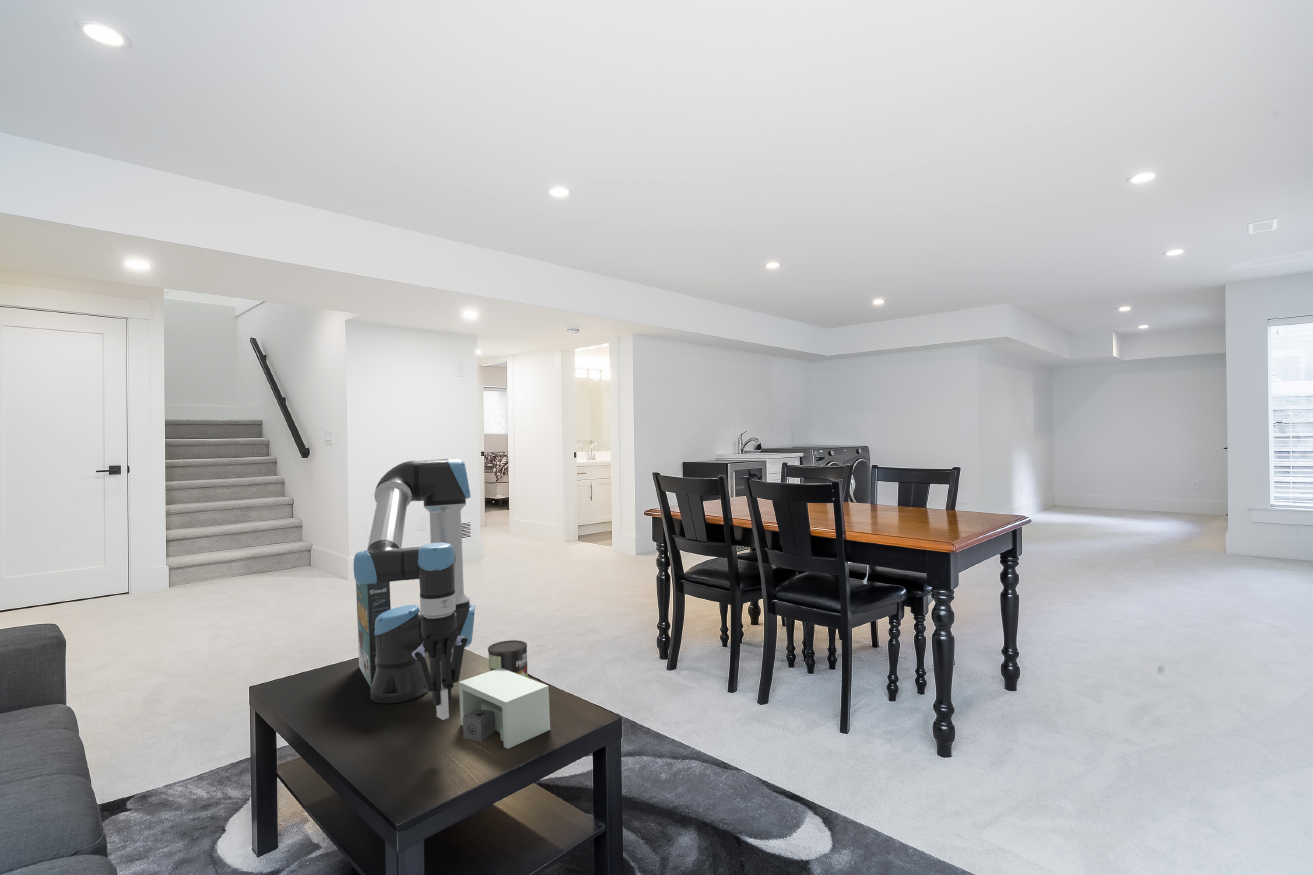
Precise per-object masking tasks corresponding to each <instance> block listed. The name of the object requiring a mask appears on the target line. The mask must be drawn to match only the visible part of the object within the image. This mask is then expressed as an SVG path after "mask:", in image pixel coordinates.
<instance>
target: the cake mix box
mask: <svg viewBox="0 0 1313 875" xmlns="http://www.w3.org/2000/svg"><path fill="white" fill-rule="evenodd" d="M390 584H391V582H383V583H376V584H373V583H366V584H359V583H357V582H356V581H355V587H356V588H355V592H356V593H355V594H356V595H355V596H356V618H357V638H358V639H357V642H358V665H359V666H358V668H359V670H360V671H361V672H362V675H363V676H364V678H365V680H366V682H367V684H368V685H369V687H370V688H371V686H372V682H373V679H374V675H375V672H376V645H375V635H374V632H375V620H376V618H377V617H378V616H379V615H380V614H382V613H383V612H385V611H388V610H391V609H392V607H391V585H390Z"/></svg>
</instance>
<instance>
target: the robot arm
mask: <svg viewBox="0 0 1313 875" xmlns="http://www.w3.org/2000/svg"><path fill="white" fill-rule="evenodd" d="M466 468H467V467H466V464H465V461H463V460H462V459H459V458H458V459H455V458H442V459H428V460H408V461H404V462H401V463H399V464H397V465H395V466H394V467H392V468H391V469H389V470H388V471H387V472H386V473H385V474H384V475H383V476H382V477H381V478H380V479H379V481H378V482H377V485H376V486H375V490H374V495H373V496H374V500H375V503H376V505H375V509H374V510H375V511H374V515H373V519H372V520H373V521H372V525H371V529H370V533H369V534H370V535H369V540H368V544H367V549H365V550H363V551H358V552H356V553H355V555H354V558H353V577H354V581H355V583H356V582H357V583H359V584H366V583H373V584H376V583H383V582H390V583H391V582H399V581H412V580H413V581H414V580H419V582H418V583H419V604H420V606H418V605H417V604H412V605H411V604H409V605H408V604H407V605H402V606H397V607H395V608H391V610H388V611H385V612H383V613H382V614H380V615H379V616H378V617H377V618H376V620H375V632H374V635H375V645H376V672H375V675H374V679H373V682H372V686H371V687H370V701H373V702H374V703H376V704H377V703H378V704H398V703H403V702H407V701H411V700H414V699H416V698H419V697H421V696H423V695H424V694H426V693H427V692H431V693H432V695H431V696H432V704H433V705H434V706H435V709H436V718H439V719H440V720H442V721H444V720H447V719H449V718H450V712H449V710H450V709H449V708H450V707H449V702H451V700H452V689H453V688H454V684H455V683H459V682H460V675H461V669H462V664H463V657H464V651H465V648H468V647H470V645H471V644H472V642H473V641H472V640H473V636H474V633H473V632H474V626H475V625H474V624H475V623H474V622H475V614H476V613H475V612H476V611H475V610H476V606H475V605H473V604H471V603H470V601H471V600H470V598H469V597H468V596H467V595H466V594H465V591H464V590H465V588H464V585H465V584H464V564H463V562H464V561H463V541H462V540H463V539H462V538H463V536H462V513H461V512H462V509H464V507H465V506H466V505H467V499H469V498H471V491H470V485H469V479H468V473H467V469H466ZM412 502H423V508H424V509H425V510H427V512H428V513H429V530H430V531H429V535H430V536H429V537H430V543H427V544H426V543H425V544H423V545H421V546H415V547H403V537H404V532H405V531H404V530H405V529H404V528H405V523H406V515H407V507H408V506H409V505H410V503H412ZM425 653H426V654H428V659H429V667H428V663H427V660H426V658H425V656H426V654H425Z"/></svg>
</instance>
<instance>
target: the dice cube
mask: <svg viewBox="0 0 1313 875" xmlns="http://www.w3.org/2000/svg"><path fill="white" fill-rule="evenodd" d="M462 730H463V731H462V732H463V733H462V734H463V740H471V741H477V742H483V741H484V740H486V738H488V737H489V736H491V735H492V734H493V733H494V732H495V730H494V717H493V711H488V710H480V709H475V710H473V711H472V712H470V713H469V714H467V715H466V716H464V717H463V725H462Z"/></svg>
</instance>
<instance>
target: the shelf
mask: <svg viewBox="0 0 1313 875" xmlns="http://www.w3.org/2000/svg"><path fill="white" fill-rule="evenodd" d="M458 689H459V692H458V693H459V694H458V695H459V713H460V714H459V716H460V717H459V718H460V725H461V726H463V717H464V716H466V715H467V714H469V713H470V712H472V711H473V710H475V709H480V710H488V711H493V717H494V732H498V733H499V734H500V741H502V742H503V747H504V748H505V749H507V750H508V749H510V748H513V747H515V746H517V745H519V744H521V743H524V742H526V741H528V740H530V739H532V738H535V737H537V736H540V735H541V734H544V733H546V732H548V731H550V730H551V720H550V718H551V716H550V693H549V685H547V684H545V683H542V682H540V681H537V680H535V679H532V678H529V677H528V678H527V677H524V676H521V675H519V674H516V673H513V672H511V671H508V670H506V669H503V668H498V669H495V670H492V671H489V670H488V671H487V672H484V673H482V674H478V675H475V676H472V677H469V678H467V679H462V680H459V681H458Z"/></svg>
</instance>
